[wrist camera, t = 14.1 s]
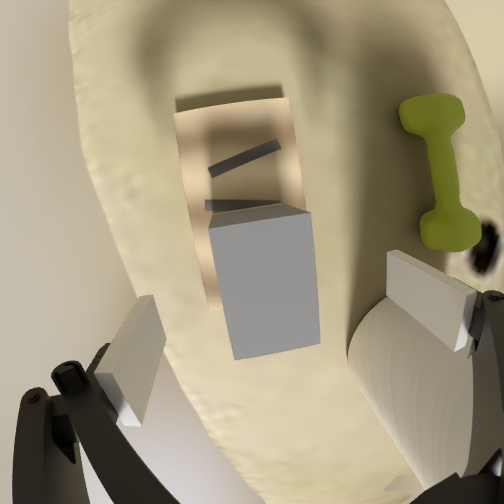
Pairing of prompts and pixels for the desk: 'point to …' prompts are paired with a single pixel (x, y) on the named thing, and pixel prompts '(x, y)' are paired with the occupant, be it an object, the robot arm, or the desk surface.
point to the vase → (416, 390)
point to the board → (235, 167)
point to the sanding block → (266, 278)
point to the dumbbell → (441, 171)
